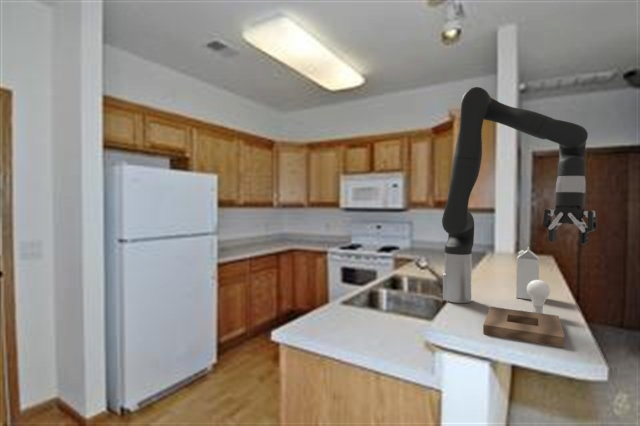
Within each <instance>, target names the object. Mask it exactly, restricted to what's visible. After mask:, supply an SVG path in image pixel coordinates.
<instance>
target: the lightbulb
mask: <svg viewBox="0 0 640 426" xmlns="http://www.w3.org/2000/svg"><path fill="white" fill-rule="evenodd" d="M527 293H528V295H529V296H530V298H531V302H532V306H533V308H532V309H533V310H532V311H533V312H534V313H542V314H544V305H545V301H546V300H547V299H548V297H549V296H550V295H551V288H550V285H549V284H548V283H547V282H545V281H543V280H541V279H539V280H533V281H531V282H530V283H529V284H528V285H527Z"/></svg>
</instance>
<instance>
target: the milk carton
mask: <svg viewBox="0 0 640 426" xmlns="http://www.w3.org/2000/svg"><path fill="white" fill-rule="evenodd" d="M517 254H518V256H517V257H516V272H515V273H516V278H515V279H516V280H515V281H516V282H515V283H516V284H515V285H516V286H515V287H516V290H515V292H516V293H515V298H516V299H524V300H531V298H530V296H529V295H528V293H527V285H528V284H529V283H530V282H531V281H533V280H540V257H539V256H538V255H537V254H536V253H534V252H533V251H532V250H531V249H530V248H529V246H528V247H527V249H526V250H524V249H521V250H520V251H518V252H517ZM531 301H532V300H531Z"/></svg>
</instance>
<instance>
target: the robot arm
mask: <svg viewBox="0 0 640 426" xmlns="http://www.w3.org/2000/svg"><path fill="white" fill-rule="evenodd" d="M459 113H460V117H459V119H460V120H459V130H458V134H457V137H456V138H457V139H456V143H455V148H454V155H453V158H452V165H451V174H450V178H449V179H450V180H449V188H448V195H447V199H446V204H445V206H444V211H443V213H442V218H441V224H442V228H443V230H444V231H445V232H446V233H447V234H448V237H447V241H446V244H445V245H444V269H443V270H444V273H443V274H442V301H446V302H450V303H455V304H467V303H471V302H472V273H473V272H472V270H473V269H472V267H473V266H472V265H473V264H472V262H473V261H472V260H473V259H472V256H473V255H472V254H473V251H472V250H473V247H474V243H475V242H474V241H475V219H474V216H473V214H472V213H471V212H470V211H468V210H469V209H468V208H469V201H470V197H471V193H472V191H473V189H474V187H475V185H476V182H477V180H478V177H479V173H480V170H481V165H482V156H483V142H482V141H483V139H482V138H483V135H482V131H483V129H482V128H483V124H484V123H483V122H484V120H485V121H490V122H494V123H497V124H501V125H503V126H507V127H509V128H511V129H514V130H516V131H518V132H521V133H523V134H527V135H529V136H532V137H534V138H537V139H541V140H548V141H550V142H552V143H555V144H558V145H559V147H558V149H559V151H558V153H559V154H558V157H559V160H558V163H557V164H558V165H557V177H556V184H555V197H554V199H555V200H554V201H555V202H554V205H555V206H554V207H555V208H554V209H550V208H548V209H547V208H545V209H544V212H543V220H542V221H543V222H542V227H543V228H546V229H547V230H548V239H549V241H550V242H553V243H554V242H557V236H558V235H557V233H558V232H557V228H558V227H560V226H561V225H562V224H565V225H566V224H568V225H575V226H576V227H577V228H578V229H579V230H580V231H581V232H580V233H579V245H580V246H586V245H587V244H588V243H589V234H590V232H596V231H597V229H598V228H597V225H598V223H597V222H598V221H597V211H596V210H585V201H586V200H585V199H586V190H587V189H586V184H587V183H586V160H585V156H586V147H587V146H586V145H587V140H588V135H589V134H588V131H587V129H586V128H585V127H583V126H582V125H580V124H577V123H573V122H570V121H565V120H562V119H557V118H556V119H555V118H553V117H551V116H548V115H545V114H541V113H539V112H536V111H532V110H528V109H524V108H518V107H514V106H510V105H507V104H504V103H501V101H498V100H496V99H495V98H492V97H491V95H490V94H489V92H488V91H487V89H486V90H485V89H484V88H482V87H479V86H473V87H471V88H469V89H467V91H466V92H465V93H464V94H463V96H462V97H461V100H460V112H459ZM553 216H555V218H554V219H553V220H552V218H553ZM584 216H585V218H587V223H586V222H585V220H584V219H583V218H584Z"/></svg>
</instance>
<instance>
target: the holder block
mask: <svg viewBox="0 0 640 426" xmlns="http://www.w3.org/2000/svg"><path fill="white" fill-rule="evenodd" d="M482 326H483V327H482V328H483V329H482V331H483V332H482V334H483V335H488V336H489V335H490V336H493V335H494V337H499V336H500V337H499V338H505V337H506V339H512V340H517V341H525V342H530V343H536V344H542V345H548V346H554V347H558V348H559V347H560V348H565V335H564V330H563V326H562V322H561V319H560V315H558V314H557V315H555V314H549V313H543V314H542V313H534V312H532V311H528V310H527V311H525V310H517V309H509V308H503V307H495V306H490V307H489V308H488V312H487V314H486V317H485V319H484V322H483V324H482Z"/></svg>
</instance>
